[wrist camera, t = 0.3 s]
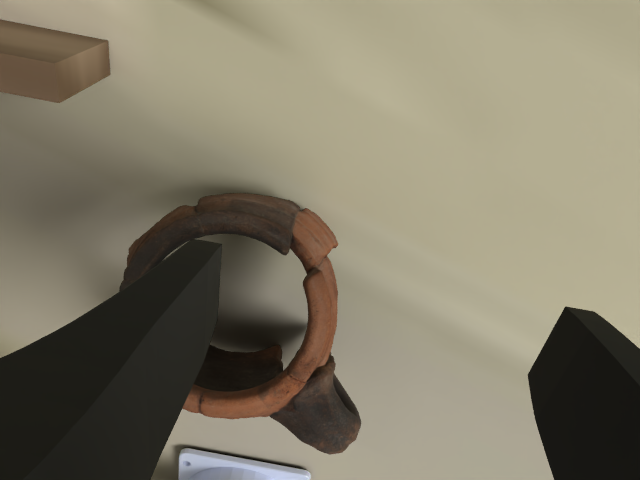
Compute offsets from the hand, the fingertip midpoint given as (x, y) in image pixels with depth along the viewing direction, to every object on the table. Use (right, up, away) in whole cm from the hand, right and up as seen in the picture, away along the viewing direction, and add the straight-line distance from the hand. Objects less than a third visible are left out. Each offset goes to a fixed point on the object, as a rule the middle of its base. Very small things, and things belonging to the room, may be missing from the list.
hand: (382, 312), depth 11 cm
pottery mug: (-4, -1, +13) cm, 13 cm away
